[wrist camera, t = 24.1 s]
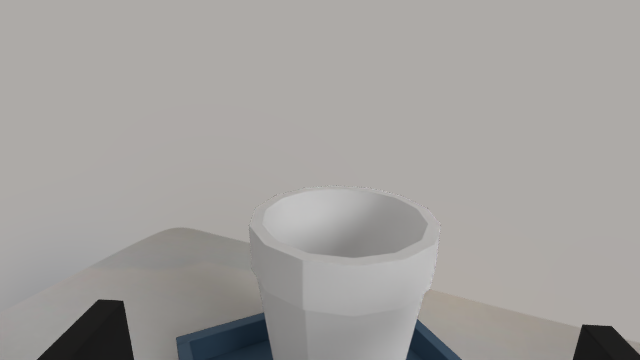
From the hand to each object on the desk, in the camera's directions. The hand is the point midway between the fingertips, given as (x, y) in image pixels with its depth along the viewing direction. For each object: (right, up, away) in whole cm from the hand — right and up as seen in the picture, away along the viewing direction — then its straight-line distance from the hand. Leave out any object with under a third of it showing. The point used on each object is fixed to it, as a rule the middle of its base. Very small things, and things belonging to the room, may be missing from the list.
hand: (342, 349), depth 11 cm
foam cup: (0, -9, +12) cm, 15 cm away
